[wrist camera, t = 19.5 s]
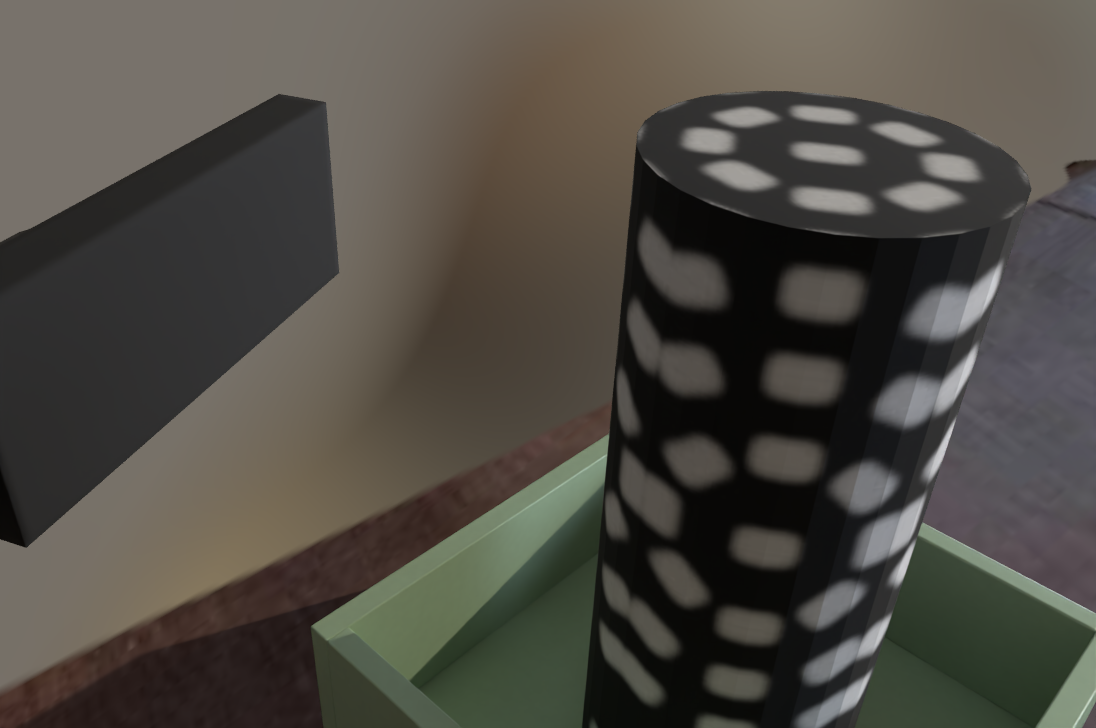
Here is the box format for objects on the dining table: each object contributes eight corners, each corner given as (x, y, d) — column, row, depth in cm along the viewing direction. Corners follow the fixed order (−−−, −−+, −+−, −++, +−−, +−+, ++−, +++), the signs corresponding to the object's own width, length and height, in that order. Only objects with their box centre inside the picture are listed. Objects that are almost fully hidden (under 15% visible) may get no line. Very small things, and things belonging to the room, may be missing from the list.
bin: (326, 753, 33) (309, 625, 30) (658, 504, 44) (673, 391, 41) (789, 1227, 23) (842, 1116, 20) (1068, 753, 34) (1132, 631, 31)
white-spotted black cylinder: (833, 659, 36) (994, 111, 25) (844, 884, 29) (1073, 263, 18) (602, 618, 37) (657, 77, 26) (559, 824, 30) (610, 207, 19)
